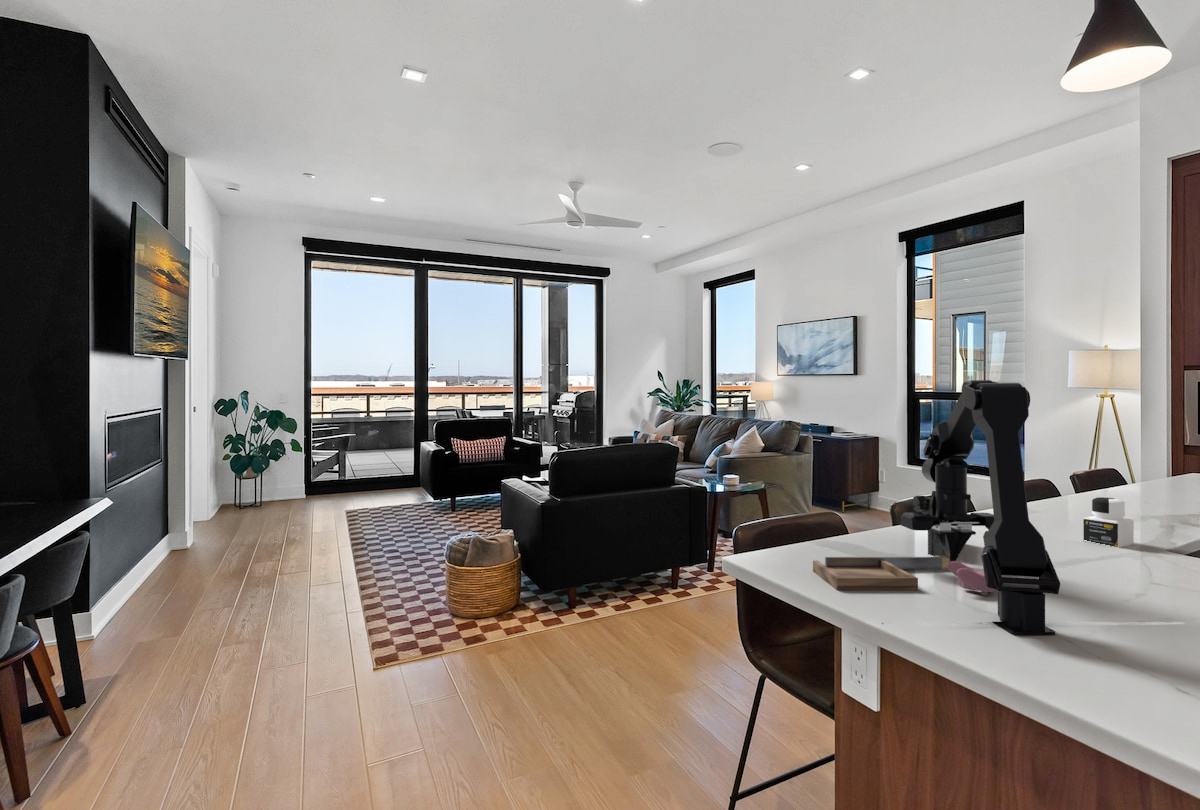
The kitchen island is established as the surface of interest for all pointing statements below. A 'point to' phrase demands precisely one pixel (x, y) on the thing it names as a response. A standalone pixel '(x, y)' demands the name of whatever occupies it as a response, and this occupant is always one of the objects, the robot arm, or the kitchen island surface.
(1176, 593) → the kitchen island surface
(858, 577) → the brown wooden tray
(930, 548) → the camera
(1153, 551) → the kitchen island surface
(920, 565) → the gray metal bar
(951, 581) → the kitchen island surface
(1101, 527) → the medicine bottle
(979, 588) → the video game controller
